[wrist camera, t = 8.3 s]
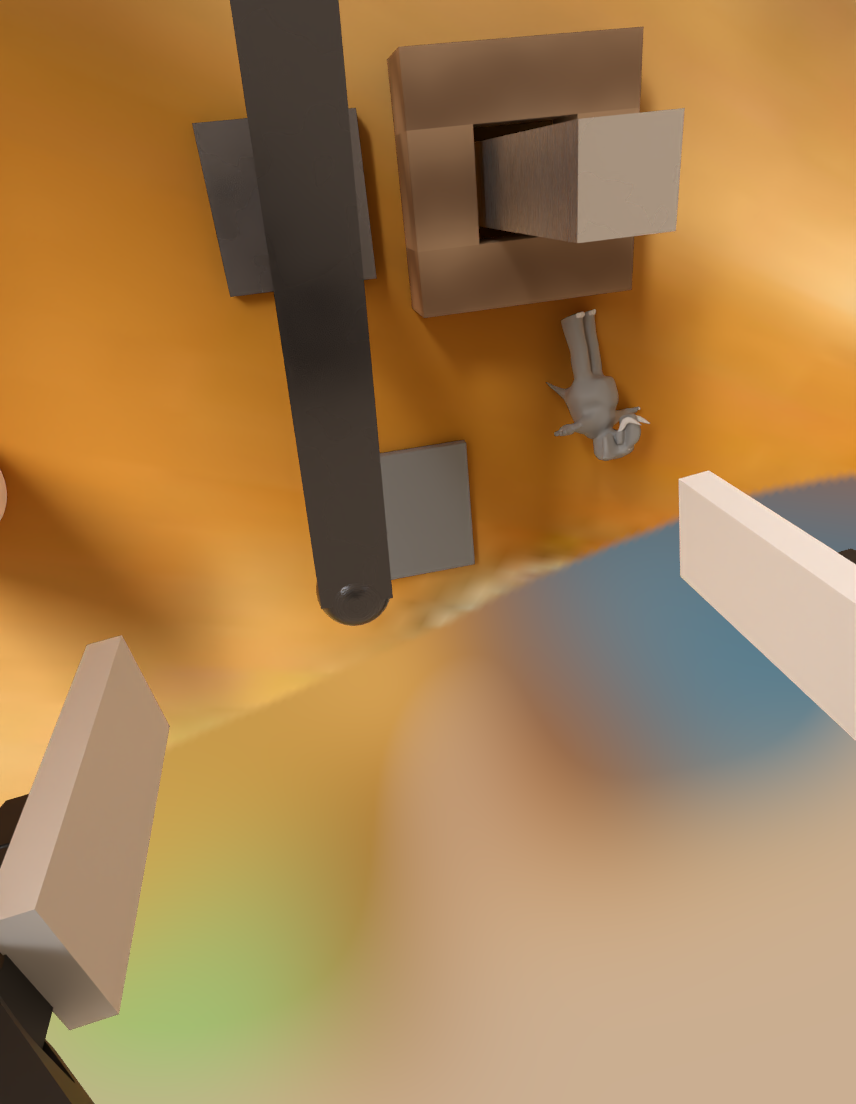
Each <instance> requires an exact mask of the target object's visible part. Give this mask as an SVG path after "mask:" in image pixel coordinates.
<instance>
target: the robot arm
mask: <svg viewBox="0 0 856 1104" xmlns="http://www.w3.org/2000/svg"><path fill="white" fill-rule="evenodd" d="M679 527H680V576H681V577H682V578H683V579H684V580H685V581H686V582H687V583H688V584H689V585H690V586H691V587H692V588H693V589H694V590H695V591H697V592H698V593H699V594H700V595H701V596H702V597H703V598H704V599H705V600H706V601H707V602H708V603H709V604H710V605H712V606H713V607H714V608H715V609H716V610H717V611H718V612H719V613H720V614H721V615H722V616H723V617H724V618H725V619H726V620H727V621H729V622H730V623H731V624H732V625H733V626H734V627H735V628H736V629H737V630H738V631H739V632H740V633H741V634H742V635H743V636H745V637H746V638H747V639H748V640H749V641H750V642H751V643H752V644H753V645H754V646H755V647H756V648H757V649H758V650H760V651H761V652H762V653H763V654H764V655H765V656H766V657H767V658H768V659H769V660H770V661H771V662H772V663H774V665H775V666H776V667H778V668H779V669H780V670H781V671H782V672H783V673H784V674H785V675H786V676H787V677H788V678H789V679H790V680H791V681H792V682H794V683H795V684H796V685H797V686H798V687H799V688H800V689H801V690H802V691H803V692H804V693H805V694H806V695H807V696H808V697H810V698H811V699H812V700H813V701H814V702H815V703H816V704H817V705H818V706H819V707H820V708H821V709H822V710H823V711H825V712H826V713H827V714H828V715H829V716H830V717H831V718H832V719H833V720H834V721H835V722H836V723H837V724H838V725H839V726H840V727H842V728H843V729H844V730H845V731H846V732H847V733H848V734H849V735H850V736H851V737H852V738H853V739H854V740H855V741H856V550H853V549H848V550H845V551H841V552H838V553H837V552H836V551H834V550H832V549H831V548H829V547H828V546H826V545H825V544H823V543H821V542H820V541H818V540H817V539H815V538H813V537H812V536H810V535H809V534H807V533H806V532H804V531H803V530H801V529H800V528H798V527H796V526H795V525H793V524H792V523H790V522H789V521H787V520H785V519H784V518H782V517H781V516H779V515H778V514H776V513H774V512H773V511H771V510H770V509H768V508H767V507H765V506H764V505H762V504H761V503H759V502H757V501H756V500H754V499H753V498H751V497H750V496H748V495H746V494H745V493H743V492H742V491H740V490H739V489H737V488H735V487H734V486H732V485H731V484H729V483H728V482H726V481H725V480H723V479H721V478H720V477H718V476H717V475H715V474H714V473H712V472H710V471H705V472H702V473H698V474H694V475H691V476H687V477H684V478H680V479H679ZM169 727H170V726H169V724H168V722H167V720H166V718H165V716H164V715H163V713H162V711H161V709H160V707H159V705H158V703H157V701H156V699H155V697H154V695H153V694H152V692H151V690H150V688H149V686H148V684H147V682H146V680H145V678H144V676H143V674H142V673H141V671H140V669H139V667H138V665H137V663H136V661H135V659H134V657H133V655H132V653H131V652H130V650H129V648H128V646H127V644H126V642H125V640H124V638H123V636H122V635H120V636H117V637H113V638H110V639H106V640H102V641H99V642H95V643H92V644H88V645H87V646H86V648H85V651H84V653H83V656H82V659H81V661H80V664H79V666H78V669H77V672H76V674H75V677H74V679H73V682H72V684H71V687H70V690H69V692H68V695H67V697H66V700H65V703H64V705H63V708H62V710H61V713H60V715H59V718H58V721H57V723H56V726H55V728H54V731H53V733H52V736H51V739H50V741H49V744H48V746H47V749H46V752H45V754H44V757H43V759H42V762H41V764H40V767H39V770H38V772H37V775H36V777H35V780H34V783H33V785H32V788H31V790H30V793H29V794H27V795H24V796H20V797H17V798H14V799H10V800H7V801H5V803H4V804H3V805H2V806H1V807H0V1104H94V1102H93V1101H92V1100H91V1098H90V1097H89V1096H88V1094H87V1093H86V1092H85V1090H84V1089H83V1087H82V1086H81V1085H80V1083H79V1082H78V1081H77V1079H76V1078H75V1077H74V1075H73V1074H72V1072H71V1071H70V1070H69V1068H68V1067H67V1066H66V1064H65V1063H64V1062H63V1060H62V1059H61V1057H60V1056H59V1055H58V1053H57V1052H56V1051H55V1049H54V1048H53V1047H52V1046H51V1045H50V1044H49V1043H48V1042H47V1041H46V1039H45V1038H46V1034H47V1029H48V1026H49V1022H50V1018H51V1014H52V1011H53V1012H54V1013H55V1014H56V1016H57V1017H58V1018H59V1019H60V1020H61V1021H62V1022H63V1023H64V1025H65V1026H66V1027H67V1028H68V1029H69V1030H72V1029H75V1028H78V1027H81V1026H84V1025H87V1024H90V1023H93V1022H96V1021H99V1020H102V1019H106V1018H109V1017H112V1016H114V1015H118V1014H119V1011H120V1005H121V999H122V993H123V988H124V982H125V977H126V970H127V965H128V960H129V954H130V948H131V942H132V936H133V931H134V925H135V920H136V914H137V908H138V903H139V897H140V891H141V886H142V880H143V874H144V869H145V863H146V857H147V852H148V846H149V840H150V835H151V828H152V822H153V818H154V811H155V806H156V800H157V795H158V789H159V783H160V778H161V772H162V766H163V760H164V755H165V749H166V744H167V738H168V732H169Z"/></svg>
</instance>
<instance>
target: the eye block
mask: <svg viewBox="0 0 856 1104" xmlns="http://www.w3.org/2000/svg"><path fill="white" fill-rule="evenodd" d="M642 47H643V27H633V28H621V29H609V30H597V31H585V32H573V33H561V34H549V35H536V36H524V37H512V38H500V39H488V40H476V41H464V42H452V43H440V44H428V45H415V46H403V47H398V48H397V49H396V50H395V51H394V53H393V54H392V55H391V56H390V57H389V58H388V59H387V62H388V72H389V82H390V92H391V102H392V112H393V122H394V132H395V141H396V151H397V161H398V171H399V181H400V191H401V201H402V211H403V221H404V231H405V241H406V251H407V261H408V270H409V280H410V290H411V300H412V309H414V310H415V311H416V312H417V313H419V314H420V315H421V316H422V317H423V318H428V317H436V316H443V315H450V314H458V313H465V312H472V311H480V310H487V309H494V308H502V307H509V306H516V305H524V304H531V303H538V302H546V301H553V300H560V299H568V298H575V297H582V296H590V295H597V294H604V293H612V292H619V291H626V290H632V272H633V249H634V236H631V237H623V238H615V239H607V240H600V241H592V242H584V243H573V242H567V241H561V240H556V239H550V238H544V237H538V236H533V235H527V234H521V233H519V234H511V235H503V236H494V237H486V238H479V228H478V209H477V191H476V172H475V153H474V135H473V128H477V127H487V126H497V125H507V124H517V123H527V122H537V121H547V120H553V125H554V124H558V123H562V122H567V121H571V120H576V119H582V118H592V117H602V116H612V115H622V114H632V113H640V92H641V70H642Z"/></svg>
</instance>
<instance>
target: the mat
mask: <svg viewBox="0 0 856 1104" xmlns="http://www.w3.org/2000/svg"><path fill="white" fill-rule="evenodd" d="M380 463H381V474H382V485H383V496H384V507H385V518H386V529H387V540H388V551H389V562H390V573H391V580H393V579H398V578H403V577H409V576H414V575H419V574H425V573H430V572H435V571H441V570H446V569H451V568H457V567H462V566H468V565H473V564H475V561H474V547H473V533H472V519H471V505H470V491H469V477H468V463H467V449H466V442H465V441H464V440H460V441H454V442H447V443H441V444H435V445H429V446H423V447H417V448H410V449H404V450H398V451H392V452H386V453H380Z"/></svg>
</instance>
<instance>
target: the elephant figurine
mask: <svg viewBox="0 0 856 1104" xmlns="http://www.w3.org/2000/svg"><path fill="white" fill-rule="evenodd" d="M595 314H596V309H593V310H590V311H587V312H585V313H584V312H583V311H582V312H579V313H576V314H574V315H571V316H568V317H566V318H564V319H562V320H561V324H562V328H563V332H564V335H565V338H566V341H567V344H568V347H569V350H570V354H571V365H572V370H573V374H574V381H573V383H572V385H571V387H569V388H567V389H563V388H560V387H556V386H554V385H552V384H550V383H548V382H546V383H547V384H548V385H549V386H550V387H551V388H552V389H553V390H554V391H556V392H557V393H558V394H559V395H560V396H561V397H562V398H563V399H564V400H565V403H566V405H567V407H568V409H569V411H570V414H571V416H572V418H573V420H574V422H575V423H573V424H566V425H564V426H562V427H561V428H560V429H559V430H558V431H556V432H554V435H555V436H559V435H560V436H566V435H570V434H573V433H574V432H578V433H581V434H584V435H585V436H587V437H588V438H591V439H593V445H594V454H595V456H596V457H597V458H598V459H599V460H604V461H608V460H611V459H617V458H621V457H623V456H625V455H627V454H629V453H630V452H632V451H633V449H634V444H636V443H637V442H638V440H639V438H640V434H641V429H640V426H639V425H641V424H640V423H639V422H643V423H647V424H650V422H648V421H647V420H645V419H644V418H642V417H640V416H637V415H635V414H634V413H635V412H637V410H640V407H635V408H626V409H622V410H616V406H617V404H618V398H619V397H618V390H617V387H616V384H615V381H614V379H613V378H612V377H610V376H605V375H603V372H602V364H601V358H600V352H599V344H598V340H597V335H596V327H595V318H594V315H595ZM618 421H619V423H620V427H619V430H615V429H613V428H612V427H613V426H614V425H615V424H616V423H617V422H618Z"/></svg>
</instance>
